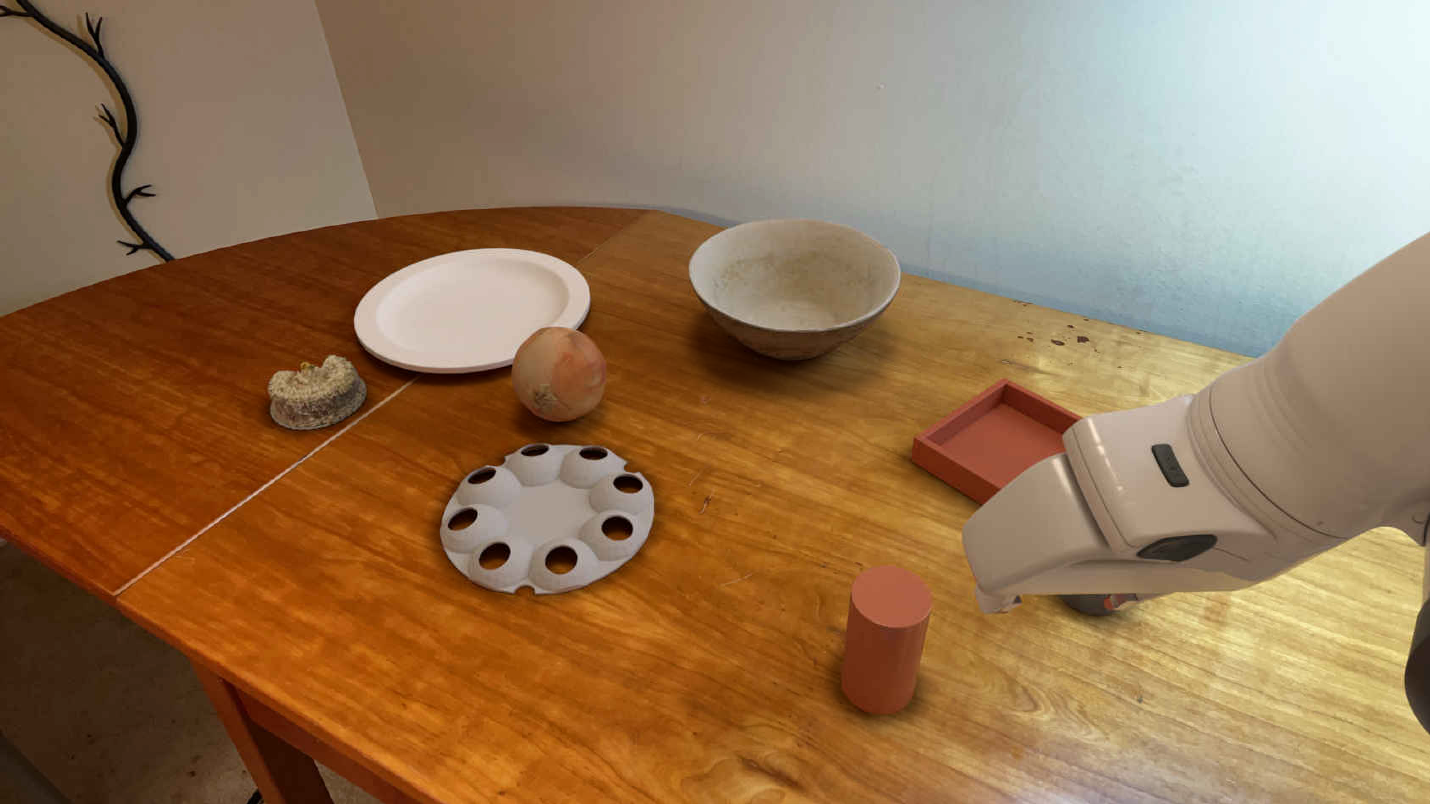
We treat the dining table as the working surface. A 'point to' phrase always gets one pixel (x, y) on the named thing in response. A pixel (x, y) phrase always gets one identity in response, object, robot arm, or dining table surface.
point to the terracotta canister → (884, 638)
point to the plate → (468, 309)
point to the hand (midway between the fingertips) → (1050, 600)
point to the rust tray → (992, 439)
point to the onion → (559, 374)
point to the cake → (316, 394)
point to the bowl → (794, 284)
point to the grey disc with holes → (547, 518)
